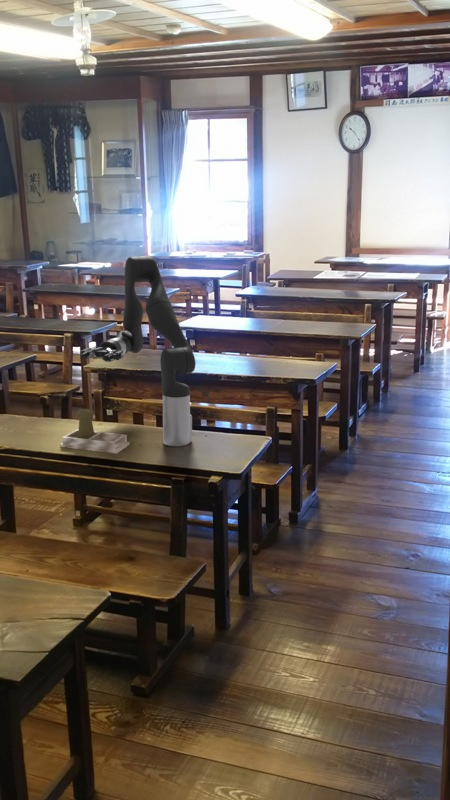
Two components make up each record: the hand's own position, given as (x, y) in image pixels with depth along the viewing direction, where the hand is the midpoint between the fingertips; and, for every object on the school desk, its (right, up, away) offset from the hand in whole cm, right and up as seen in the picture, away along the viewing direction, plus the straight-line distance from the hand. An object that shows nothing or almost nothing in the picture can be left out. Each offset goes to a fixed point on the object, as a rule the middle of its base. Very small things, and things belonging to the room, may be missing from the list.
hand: (94, 357), depth 272 cm
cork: (-2, -29, -3) cm, 29 cm away
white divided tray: (+1, -30, -5) cm, 31 cm away
